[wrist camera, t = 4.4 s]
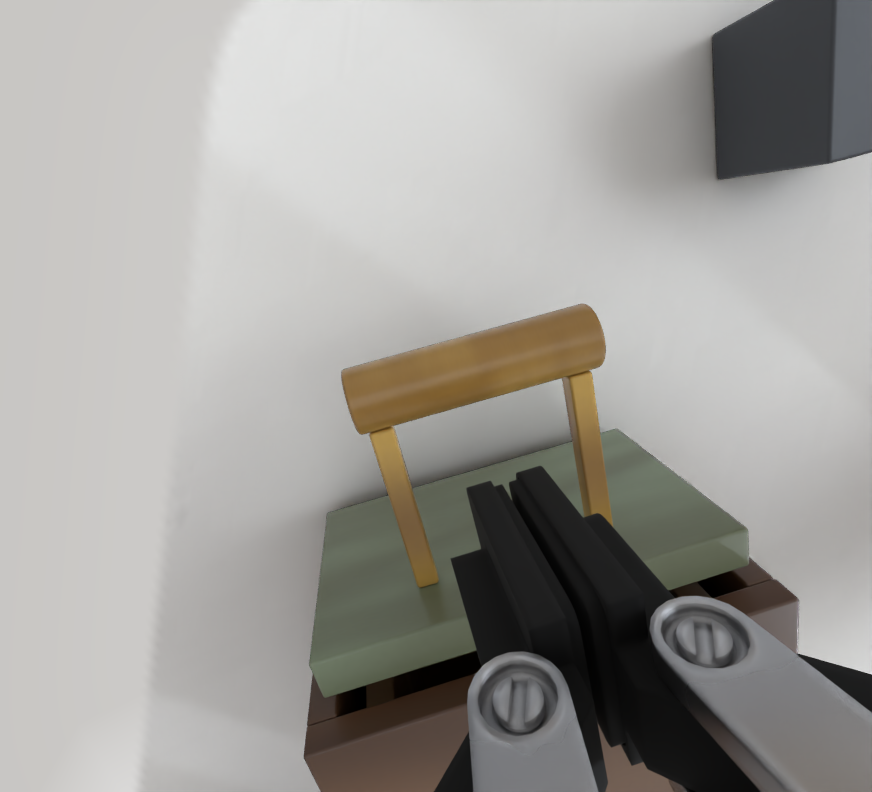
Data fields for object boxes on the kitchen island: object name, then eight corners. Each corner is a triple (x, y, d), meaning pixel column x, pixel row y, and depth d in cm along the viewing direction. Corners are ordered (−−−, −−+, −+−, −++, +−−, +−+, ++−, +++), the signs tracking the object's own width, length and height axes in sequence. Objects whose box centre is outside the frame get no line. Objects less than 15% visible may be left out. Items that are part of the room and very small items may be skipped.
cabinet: (326, 540, 19) (302, 758, 11) (624, 451, 20) (800, 598, 12) (418, 777, 24) (446, 1046, 16) (654, 700, 25) (793, 921, 17)
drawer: (265, 351, 16) (202, 431, 10) (596, 262, 17) (743, 280, 10) (417, 754, 23) (439, 959, 16) (648, 679, 23) (757, 848, 17)
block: (836, 3, 16) (1002, -77, 12) (831, 149, 17) (977, 124, 13) (710, 34, 16) (835, -36, 12) (716, 180, 17) (829, 164, 13)
